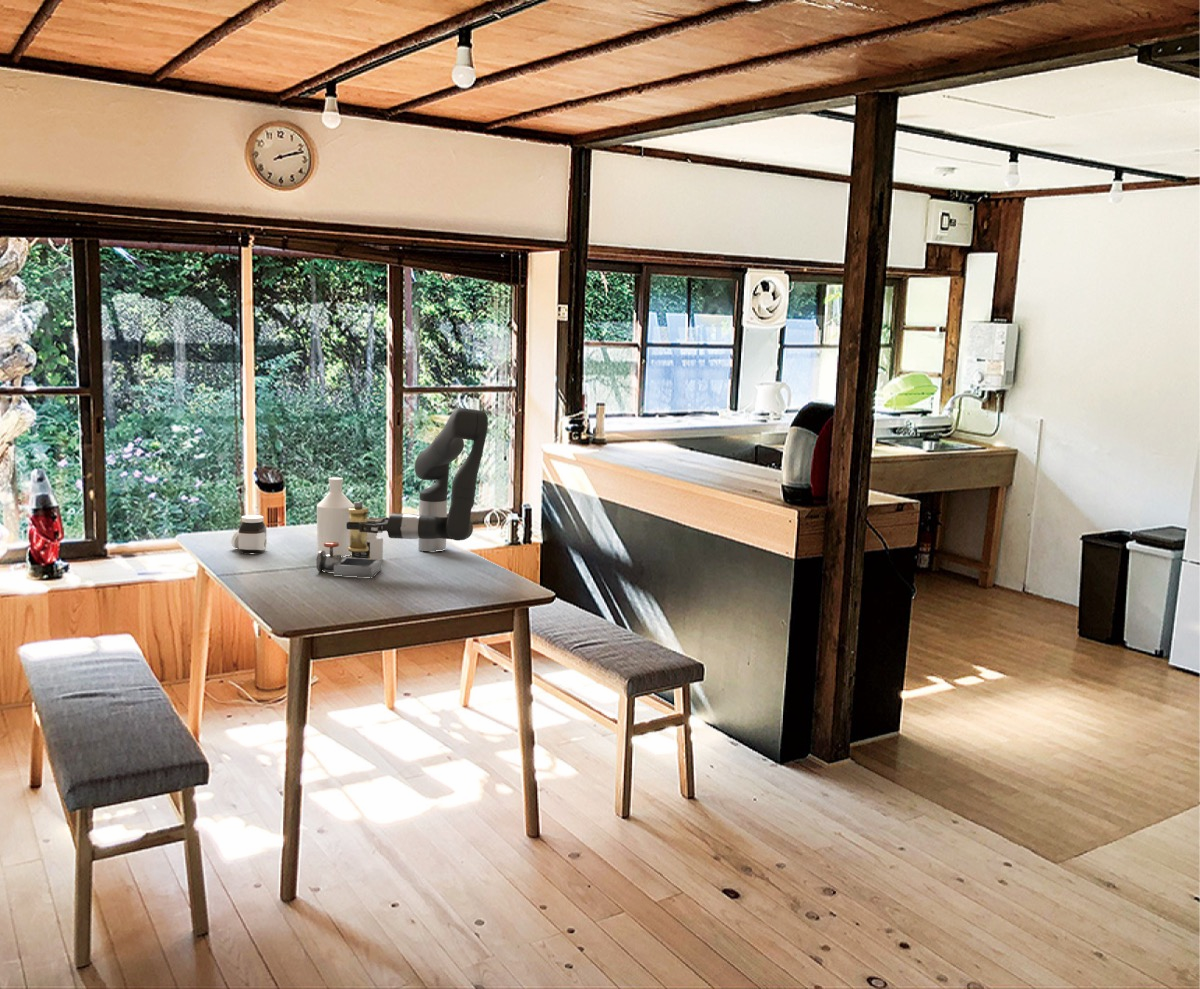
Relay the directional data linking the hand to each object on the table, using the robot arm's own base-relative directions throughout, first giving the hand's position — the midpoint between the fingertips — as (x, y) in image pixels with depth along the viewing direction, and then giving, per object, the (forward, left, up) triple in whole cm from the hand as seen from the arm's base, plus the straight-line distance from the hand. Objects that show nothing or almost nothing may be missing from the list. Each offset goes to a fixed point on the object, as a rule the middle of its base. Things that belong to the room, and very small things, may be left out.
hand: (349, 523), depth 320 cm
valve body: (0, +3, -8) cm, 8 cm away
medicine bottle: (-19, +3, -15) cm, 24 cm away
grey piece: (0, 0, -15) cm, 15 cm away
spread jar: (-29, -36, -15) cm, 48 cm away
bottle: (-27, -8, -15) cm, 32 cm away
